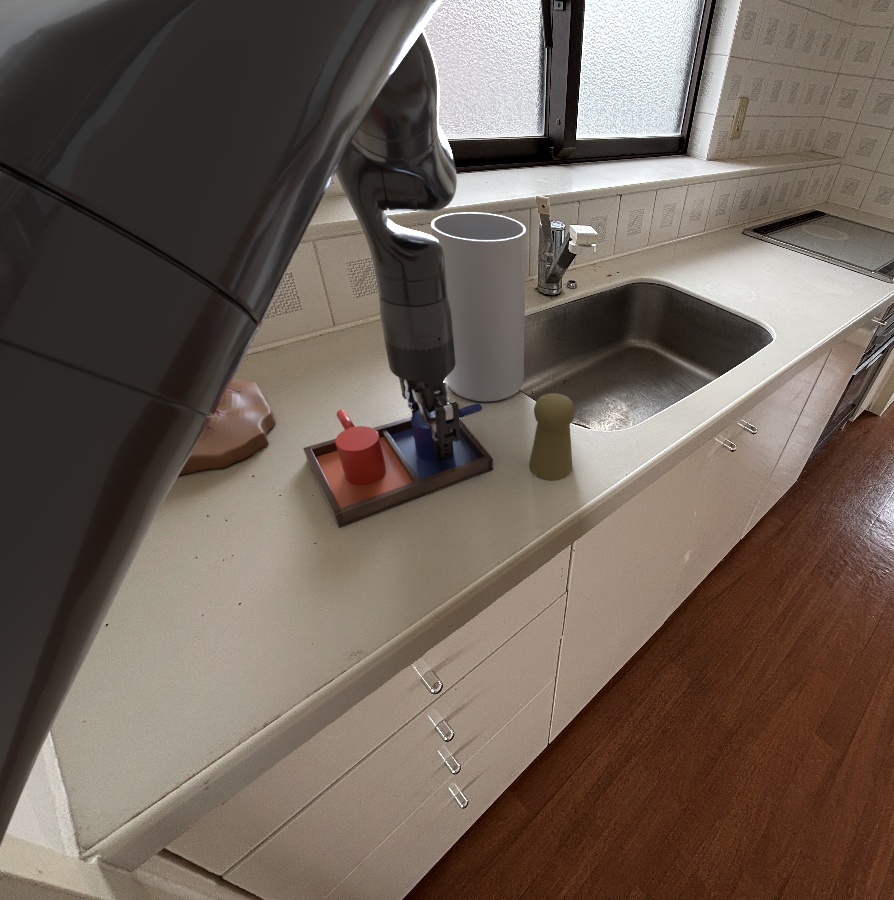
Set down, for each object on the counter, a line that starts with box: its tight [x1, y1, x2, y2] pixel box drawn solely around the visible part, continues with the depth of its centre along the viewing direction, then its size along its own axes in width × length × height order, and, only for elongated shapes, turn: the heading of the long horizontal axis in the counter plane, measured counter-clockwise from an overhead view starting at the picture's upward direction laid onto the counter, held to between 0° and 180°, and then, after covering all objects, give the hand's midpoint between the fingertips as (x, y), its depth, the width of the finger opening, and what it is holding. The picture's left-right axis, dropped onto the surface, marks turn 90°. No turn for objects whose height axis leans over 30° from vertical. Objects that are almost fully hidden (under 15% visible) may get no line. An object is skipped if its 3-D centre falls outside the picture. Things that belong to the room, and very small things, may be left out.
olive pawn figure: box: [528, 392, 576, 481], centre depth 65 cm, size 6×6×11 cm
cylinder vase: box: [430, 211, 527, 402], centre depth 75 cm, size 12×12×25 cm
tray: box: [303, 416, 494, 528], centre depth 65 cm, size 20×14×2 cm
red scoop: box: [335, 409, 386, 485], centre depth 62 cm, size 10×5×6 cm, turn 37°
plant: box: [179, 378, 276, 476], centre depth 62 cm, size 20×20×11 cm
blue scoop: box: [410, 402, 483, 461], centre depth 67 cm, size 10×5×6 cm, turn 127°
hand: (433, 444), depth 67 cm, fingers open, 6 cm apart
